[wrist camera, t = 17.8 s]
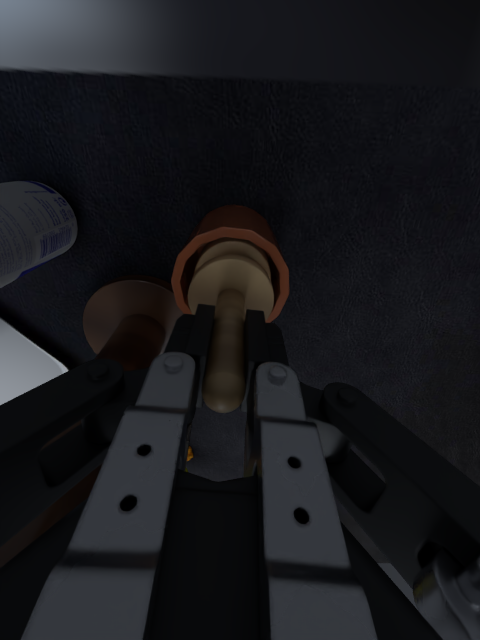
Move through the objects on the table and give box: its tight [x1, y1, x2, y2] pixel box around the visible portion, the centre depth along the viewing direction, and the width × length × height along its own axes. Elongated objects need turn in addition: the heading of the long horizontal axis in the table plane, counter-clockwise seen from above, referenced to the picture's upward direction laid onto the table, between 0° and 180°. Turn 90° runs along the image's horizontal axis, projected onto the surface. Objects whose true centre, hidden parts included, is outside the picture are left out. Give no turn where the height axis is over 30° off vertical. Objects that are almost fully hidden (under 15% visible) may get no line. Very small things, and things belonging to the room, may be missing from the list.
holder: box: [171, 205, 289, 323], centre depth 19 cm, size 6×6×8 cm
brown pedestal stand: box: [0, 275, 184, 568], centre depth 15 cm, size 13×13×25 cm
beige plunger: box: [188, 237, 274, 413], centre depth 14 cm, size 5×5×12 cm
